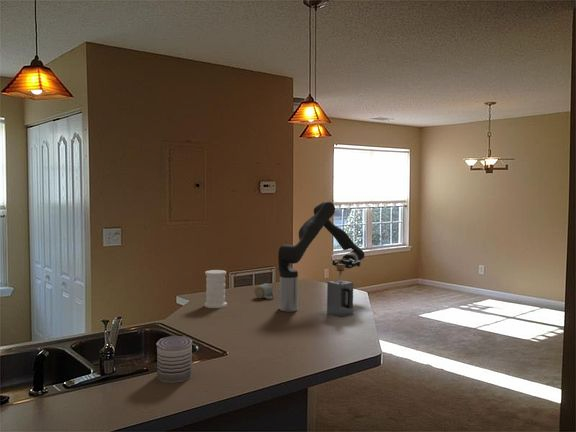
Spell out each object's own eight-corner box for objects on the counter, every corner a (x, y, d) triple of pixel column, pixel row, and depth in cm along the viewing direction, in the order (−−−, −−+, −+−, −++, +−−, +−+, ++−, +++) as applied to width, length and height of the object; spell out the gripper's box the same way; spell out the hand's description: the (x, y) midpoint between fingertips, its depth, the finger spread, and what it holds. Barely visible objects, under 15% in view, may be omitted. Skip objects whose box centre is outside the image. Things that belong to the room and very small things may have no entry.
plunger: (330, 304, 253) (331, 264, 252) (340, 303, 257) (340, 263, 256) (339, 307, 248) (340, 265, 247) (349, 305, 252) (350, 264, 251)
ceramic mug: (253, 298, 287) (253, 284, 286) (262, 295, 293) (262, 282, 293) (268, 301, 281) (268, 287, 280) (277, 298, 288) (277, 284, 287)
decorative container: (229, 307, 265) (229, 272, 264) (207, 308, 261) (207, 274, 260) (223, 302, 276) (223, 269, 275) (202, 304, 271) (202, 270, 270)
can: (194, 370, 175) (194, 335, 174) (189, 382, 163) (189, 346, 163) (161, 370, 174) (160, 335, 174) (153, 383, 163) (153, 346, 162)
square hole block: (326, 313, 254) (327, 281, 253) (339, 311, 259) (340, 279, 258) (344, 318, 244) (344, 285, 243) (357, 315, 250) (357, 283, 249)
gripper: (337, 252, 277) (330, 256, 262) (363, 254, 273) (358, 258, 258) (336, 266, 278) (330, 271, 262) (362, 267, 274) (357, 272, 258)
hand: (344, 264), depth 260 cm, fingers open, 8 cm apart
